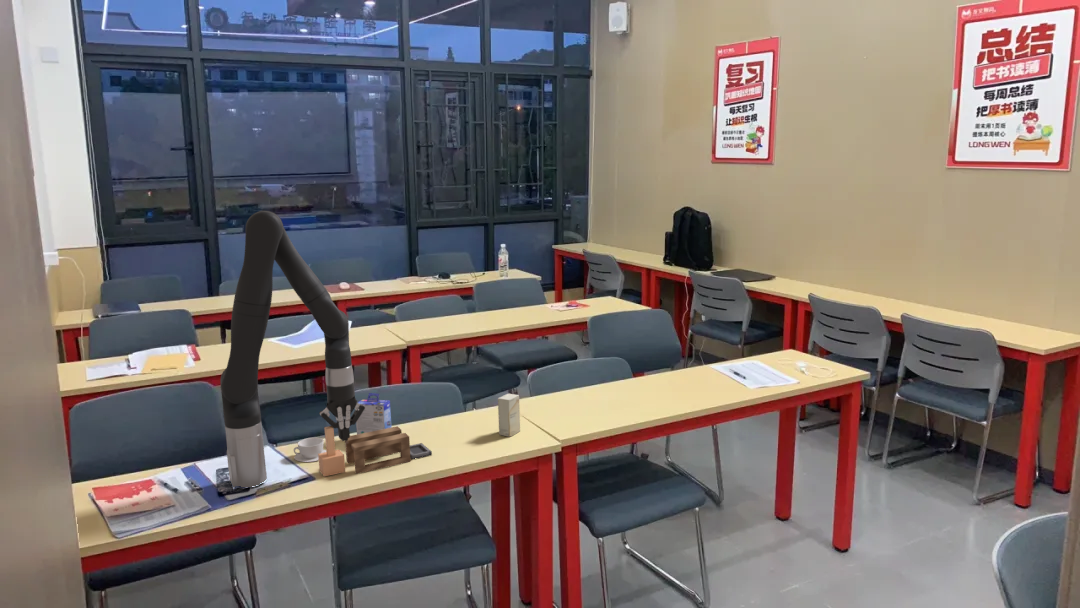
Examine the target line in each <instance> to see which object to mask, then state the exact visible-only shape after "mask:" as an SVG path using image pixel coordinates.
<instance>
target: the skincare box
mask: <svg viewBox="0 0 1080 608" xmlns="http://www.w3.org/2000/svg"><path fill="white" fill-rule="evenodd" d="M497 407H498V408H497V409H498V412H497V413H498V415H497V416H498V434H499V436H505V437H512V436H514V435H516V434H518V433H520V432H521V416H520V415H521V411H520V395H519V394H514V393H506V394H504V395H502V396H499V397H497Z"/></svg>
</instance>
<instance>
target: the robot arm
mask: <svg viewBox="0 0 1080 608" xmlns="http://www.w3.org/2000/svg"><path fill="white" fill-rule="evenodd" d="M244 231H245V237H244V239H245V240H244V241H245V244H244V254H243V263H242V268H241V271H240V274H239V277H238V281H237V285H236V289H235V293H234V298H233V305H232V311H231V320H230V352H229V357H228V361H227V365H226V367H225V369H224V370H223V371H222V373H221V376H220V380H219V381H220V391H221V392H220V393H221V400H222V409H223V420H224V422H223V423H224V429H225V439H226V447H227V450H226V460H227V468H228V477H229V482H230V481H231V483H232V485H233V487H235V486H241V487H252V486H256V485H259V484H260V483H262V482H264V481H265V480H266V479H267V480H268V477H267V476H268V475H267V468H266V466H267V465H266V455H265V446H264V445H265V444H264V436H263V426H262V415H261V407H260V397H259V388H258V387H259V385H258V384H259V380H258V379H259V364H260V363H259V362H260V353H261V349H262V346H263V342H264V340H265V335H266V332H267V327H268V321H269V317H270V313H271V312H270V311H271V306H272V298H273V279H274V277H273V271H274V263H275V262H276V264H277V265H278V267H279V268H280V270H281V271H282V273H283V274H284V276H285V278H286V280H287V281H288V283H289V285H290V286H291V288H292V289H293V291H294V292H295V293H296V295H297V296H298V298H299V299H300V300H301V301H302V303H303V305H304V306H305V307H306V308H307V309H308V310H309V312H310V313H311V316H313V318H314V320H315V322H316V324H317V326H318V327H319V328H320V330H321V331H322V332H323V337H324V345H325V348H324V362H325V363H324V364H325V385H326V387H325V388H326V396H327V397H326V398H327V401H326V403H325V408H324V409H323V410H321V411H319V415H320V416H321V417H322V419H323V420H324V421H326V422H327V423H328V424H329V426H332V427H333V428H334V429H337V432H338V433H337V435H338V438H339V440H340V441H342V442H345V441H347V440H348V438H349V437H350V436H351V434H350V427H351V426H354V425H356V422H357V420H358V419H359V417H360V416H361V414H362V412H363V411H364V409H365V407H364V406H363V405H362V404H359V403H358V400H357V398H356V394H355V393H356V392H355V379H354V378H355V377H354V370H353V365H352V364H353V363H352V353H351V348H350V347H351V346H350V333H349V332H350V329H349V327H350V324H349V322H350V321H349V317H348V316H347V314H346V313H345V312H344V311H342V310H341V309H339V308H338V307H337V305H336V304H335V302H334V301H333V300H332V298H331V294H330V293H329V291H328V289H327V288H326V287H325V286H324V284H323V283H322V281H321V280H320V279H319V278H318V276H317V274H315V272H314V271H313V270H312V269H311V267H310V266H309V265H308V263H307V262H306V261H305V260H304V259H303V257H302V255H300V253H299V252H298V250H297V248H296V247H295V245H294V244H293V242H292V240H291V239H290V237H289V235H288V233H287V231H286V229H285V227H284V224H283V221H282V218H281V217H279V215H277V214H276V213H275V212H273V211H270V210H259V211H257V212H254V213H253V214H251V216H249V218H248V219H247V221H246V223H245V230H244ZM329 412H330V413H329ZM331 414H332V415H333V416H334V417H335V420H336V422H335V421H334V420H333V419H332V418H330V416H331ZM231 483H230V484H231Z"/></svg>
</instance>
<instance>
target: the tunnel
mask: <svg viewBox="0 0 1080 608" xmlns="http://www.w3.org/2000/svg"><path fill="white" fill-rule="evenodd" d="M391 427H392V428H387V429H382V430H377V431H372V432H367V433H362V434H357V433H356V434H353V435H350V437H349V438H348V440H347V441H344V445H345V454H346V456H345V457H346V464H349V465H350V464H352V463H354V473H356V474H357V475H358V474H362V473H367V472H371V471H374V470H375V471H376V470H378V469H384V468H387V467H388V466H389V467H392V466H397V465H401V463H402V464H406V463H410V461H412V458H410V445H411V443H410V436H409V435H408V434H407V433H406V432H403V433H402V429H401V428H400V427H399V426H397V425H396V426H391ZM398 452H399V453H400V455H399V456H397V457H393V458H388V459H384V460H381V461H376V462H372V463H371V462H370V463H367V464H366V460H371V459H375V458H380V457H385V456H388V455H389V454H390V455H393V453H394V454H399V453H398ZM390 455H389V456H390Z"/></svg>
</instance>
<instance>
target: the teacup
mask: <svg viewBox="0 0 1080 608" xmlns="http://www.w3.org/2000/svg"><path fill="white" fill-rule="evenodd" d="M324 444H325V443H324V439H323V438H321V437H308V438H304V439H301V440H299V441H298V443H297V446H295V447H294V448H293V453H294V454H295V455H294V457H293V459H294V460H296V462H304V463H310V462H311V463H312V462H317V461H319V458H318V454H320V453H324V452H326V449H324ZM296 450H297V451H299V452H296Z"/></svg>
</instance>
